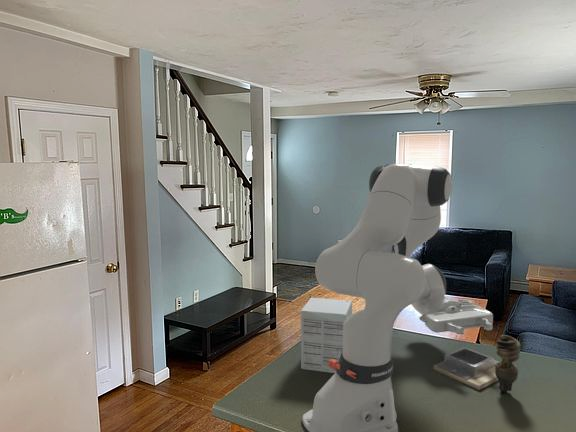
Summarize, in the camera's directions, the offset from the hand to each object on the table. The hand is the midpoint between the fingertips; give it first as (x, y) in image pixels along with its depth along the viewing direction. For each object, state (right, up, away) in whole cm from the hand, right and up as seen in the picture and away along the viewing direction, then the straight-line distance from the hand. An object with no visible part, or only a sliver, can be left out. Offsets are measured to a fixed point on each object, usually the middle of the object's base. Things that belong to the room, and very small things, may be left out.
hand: (476, 329), depth 122 cm
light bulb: (+3, -13, -10) cm, 17 cm away
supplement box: (-41, -12, +7) cm, 43 cm away
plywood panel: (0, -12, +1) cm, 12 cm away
